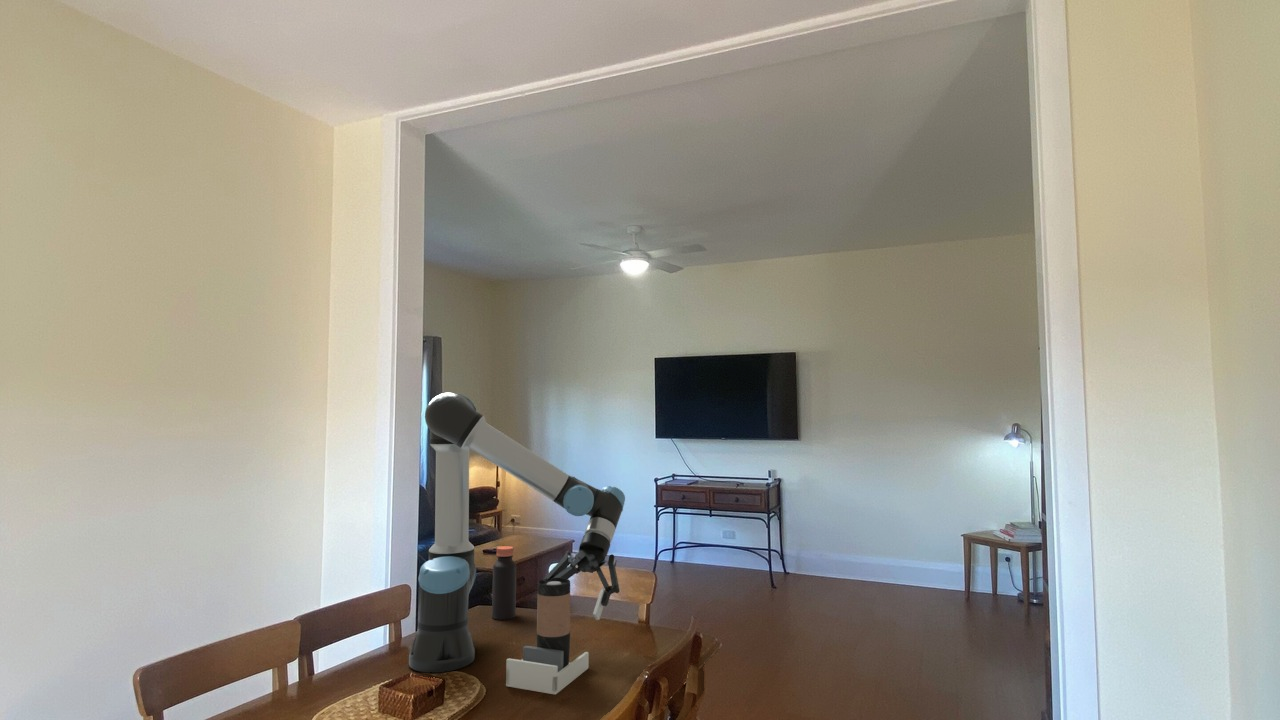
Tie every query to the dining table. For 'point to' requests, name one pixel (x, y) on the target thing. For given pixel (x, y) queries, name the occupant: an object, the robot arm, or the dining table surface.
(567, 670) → the white open box
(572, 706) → the dining table surface
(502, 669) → the dining table surface
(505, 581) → the bottle
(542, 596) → the travel mug
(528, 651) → the block
